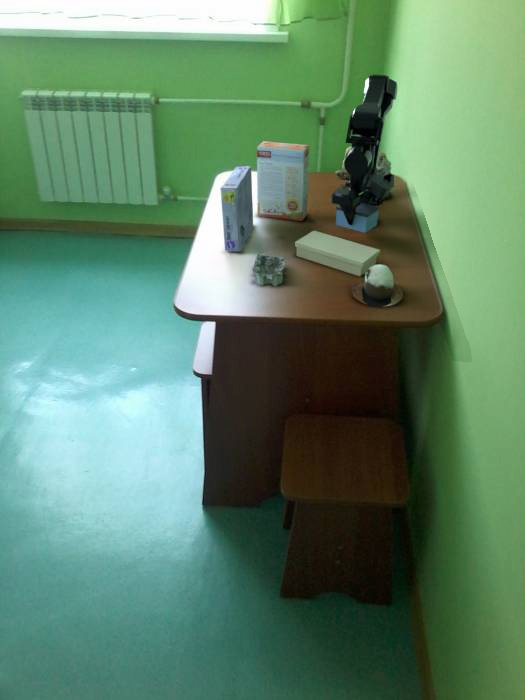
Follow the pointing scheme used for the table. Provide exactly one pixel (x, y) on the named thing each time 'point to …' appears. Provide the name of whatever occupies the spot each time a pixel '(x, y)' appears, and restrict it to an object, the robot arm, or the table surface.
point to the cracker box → (282, 180)
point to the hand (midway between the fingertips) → (356, 220)
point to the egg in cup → (377, 288)
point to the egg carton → (268, 269)
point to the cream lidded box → (337, 252)
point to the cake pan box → (237, 208)
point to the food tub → (359, 217)
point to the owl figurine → (382, 169)
